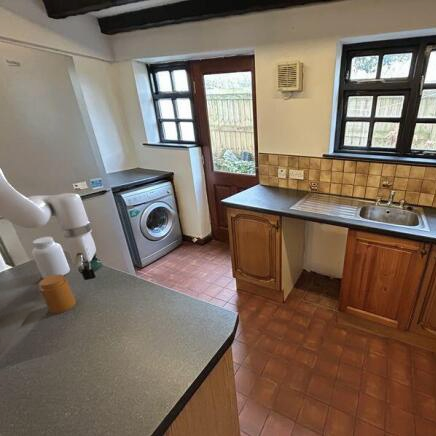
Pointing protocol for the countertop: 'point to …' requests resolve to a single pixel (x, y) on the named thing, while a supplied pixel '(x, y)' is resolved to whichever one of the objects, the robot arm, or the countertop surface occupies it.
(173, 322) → the countertop surface
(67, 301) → the honey jar
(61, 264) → the pill bottle
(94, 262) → the jar lid
